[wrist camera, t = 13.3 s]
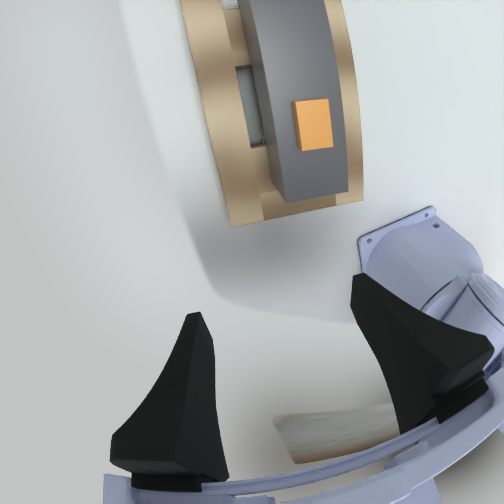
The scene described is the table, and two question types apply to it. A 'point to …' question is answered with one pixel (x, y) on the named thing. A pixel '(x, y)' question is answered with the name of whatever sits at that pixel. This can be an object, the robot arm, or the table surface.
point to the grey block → (298, 96)
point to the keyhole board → (233, 118)
